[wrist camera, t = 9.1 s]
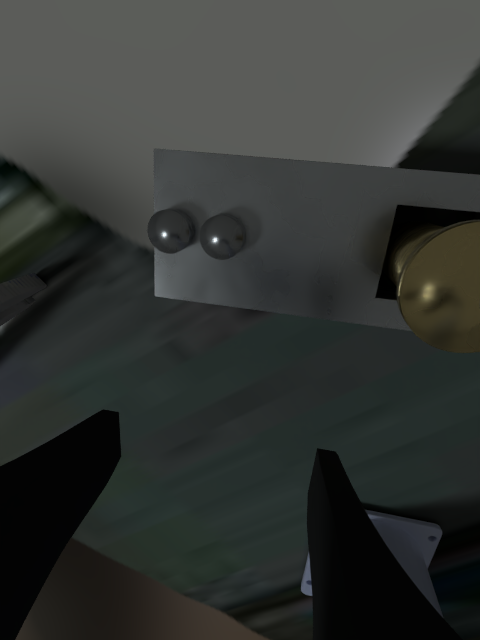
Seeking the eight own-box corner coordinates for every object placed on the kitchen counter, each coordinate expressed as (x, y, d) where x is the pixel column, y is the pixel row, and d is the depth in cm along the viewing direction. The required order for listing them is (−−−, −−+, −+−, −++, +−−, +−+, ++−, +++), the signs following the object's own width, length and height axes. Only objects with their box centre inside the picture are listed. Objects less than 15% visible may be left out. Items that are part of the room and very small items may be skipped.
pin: (443, 301, 18) (518, 363, 12) (358, 288, 19) (385, 341, 12) (473, 214, 17) (579, 231, 10) (379, 202, 17) (422, 212, 11)
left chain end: (471, 323, 19) (503, 349, 16) (170, 284, 21) (148, 300, 18) (522, 181, 16) (571, 180, 13) (172, 153, 18) (146, 146, 15)
